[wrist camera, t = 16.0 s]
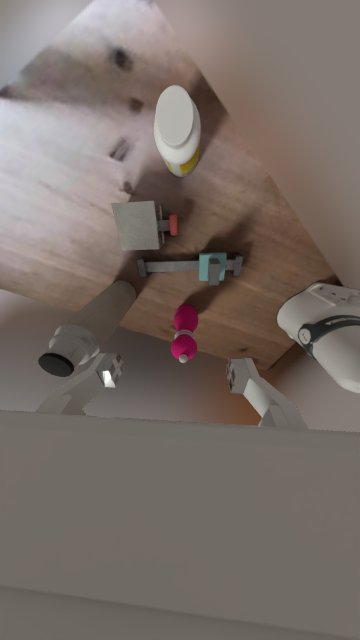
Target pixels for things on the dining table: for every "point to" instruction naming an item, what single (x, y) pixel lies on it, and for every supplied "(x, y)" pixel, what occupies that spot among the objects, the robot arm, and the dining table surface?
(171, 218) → the plunger
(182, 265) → the rail
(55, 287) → the dining table surface
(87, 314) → the thermos bottle
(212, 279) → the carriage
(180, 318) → the pepper mill
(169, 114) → the supplement bottle
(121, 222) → the cabinet
